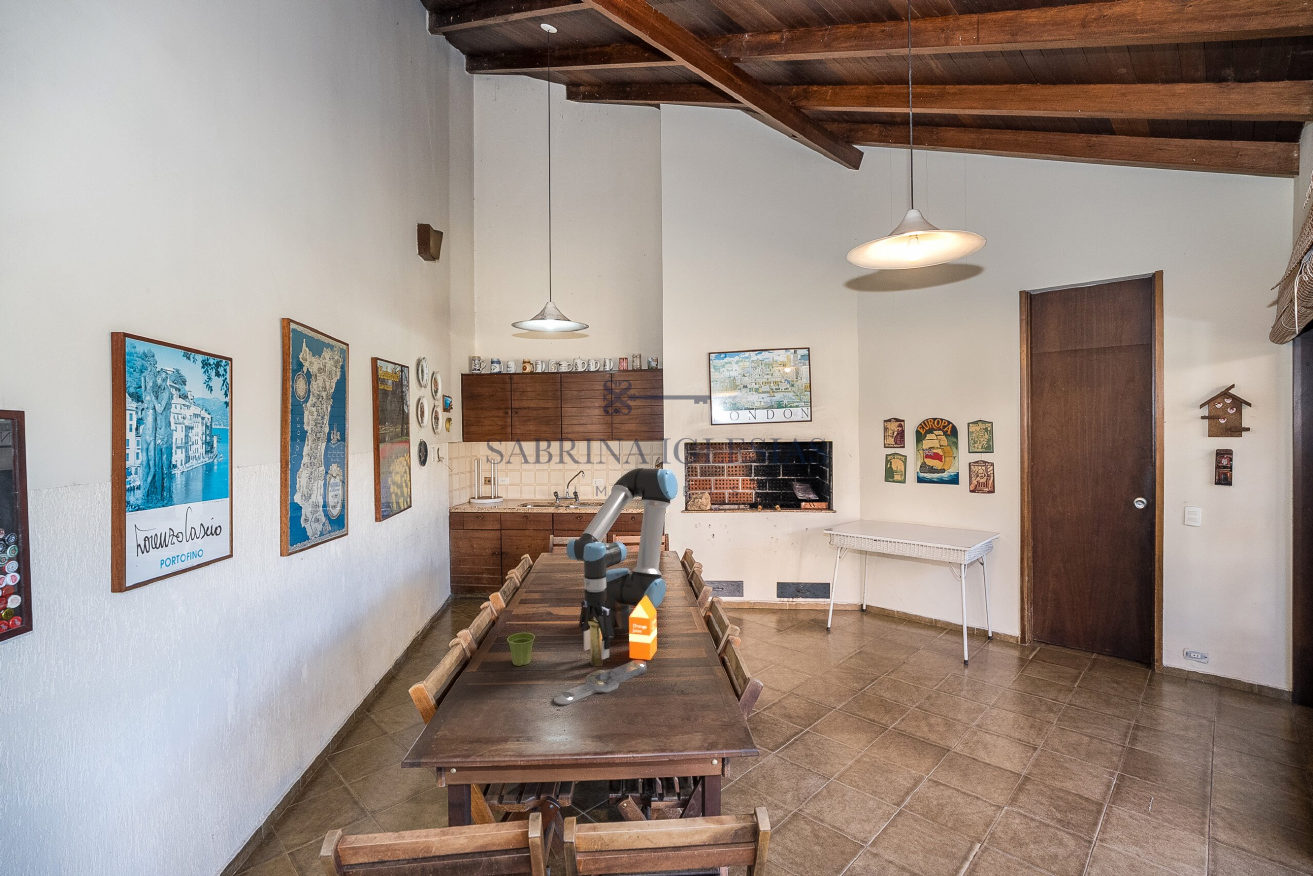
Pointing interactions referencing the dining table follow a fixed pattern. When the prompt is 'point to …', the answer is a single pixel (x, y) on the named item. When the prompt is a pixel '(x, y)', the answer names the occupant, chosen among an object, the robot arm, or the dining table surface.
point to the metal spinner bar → (601, 682)
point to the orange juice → (643, 630)
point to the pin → (595, 642)
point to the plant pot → (521, 647)
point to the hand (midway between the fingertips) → (596, 653)
